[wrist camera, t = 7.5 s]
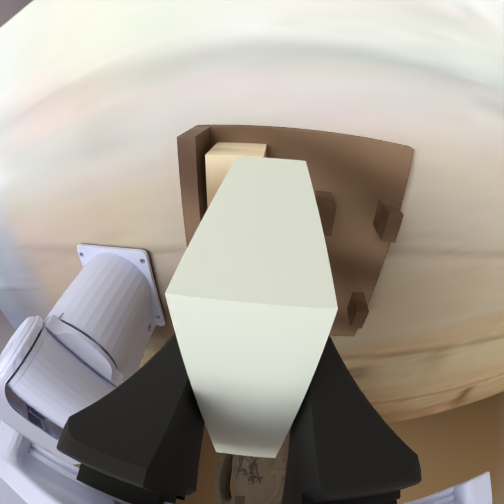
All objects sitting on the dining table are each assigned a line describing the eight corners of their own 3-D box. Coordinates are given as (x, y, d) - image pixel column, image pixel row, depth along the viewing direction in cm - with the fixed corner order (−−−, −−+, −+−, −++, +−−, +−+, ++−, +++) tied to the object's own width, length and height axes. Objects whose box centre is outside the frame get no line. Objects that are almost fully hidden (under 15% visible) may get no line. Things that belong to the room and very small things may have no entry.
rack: (352, 330, 26) (358, 361, 23) (211, 319, 27) (203, 350, 24) (409, 146, 15) (434, 163, 12) (197, 125, 16) (176, 137, 13)
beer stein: (282, 348, 28) (266, 537, 12) (343, 378, 31) (348, 528, 15) (208, 389, 36) (181, 517, 20) (266, 412, 39) (253, 526, 23)
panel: (282, 333, 16) (275, 457, 10) (238, 329, 16) (216, 451, 10) (305, 160, 10) (337, 309, 4) (237, 156, 10) (164, 293, 4)
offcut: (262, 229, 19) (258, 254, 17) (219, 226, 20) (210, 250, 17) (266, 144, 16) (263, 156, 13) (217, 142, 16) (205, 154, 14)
